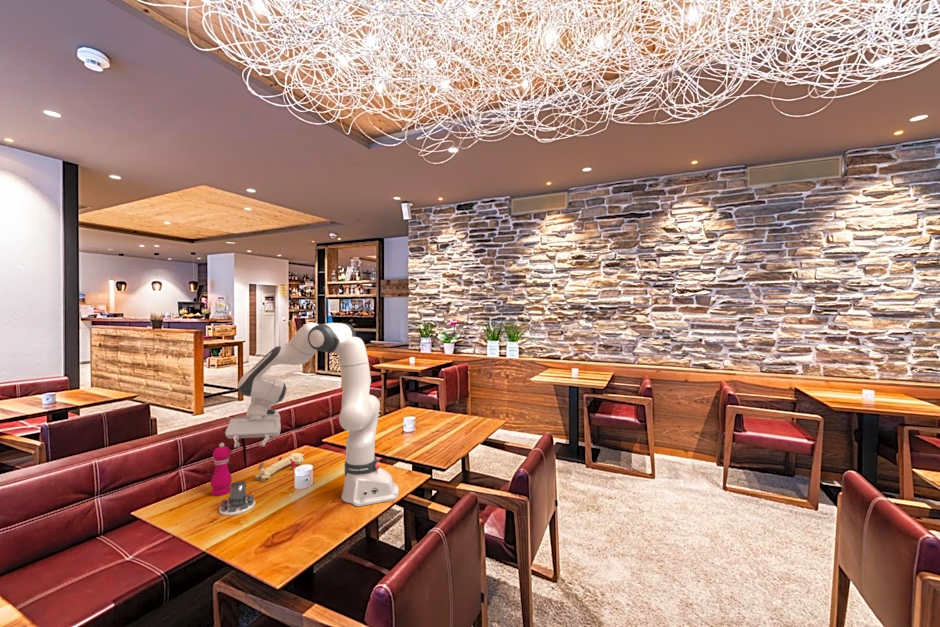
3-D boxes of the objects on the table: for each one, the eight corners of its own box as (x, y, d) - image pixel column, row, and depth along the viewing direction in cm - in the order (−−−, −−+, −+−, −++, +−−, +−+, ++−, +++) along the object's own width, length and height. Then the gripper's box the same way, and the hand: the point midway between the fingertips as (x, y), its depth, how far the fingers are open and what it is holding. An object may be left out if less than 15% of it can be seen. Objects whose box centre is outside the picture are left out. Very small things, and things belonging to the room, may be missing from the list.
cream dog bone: (267, 486, 164) (310, 460, 187) (266, 466, 163) (310, 443, 187) (250, 482, 167) (295, 457, 191) (249, 463, 167) (294, 440, 190)
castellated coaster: (259, 498, 150) (259, 491, 150) (248, 513, 139) (249, 506, 139) (226, 501, 148) (227, 494, 148) (213, 516, 137) (213, 509, 137)
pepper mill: (221, 497, 151) (221, 446, 151) (205, 495, 152) (206, 445, 152) (236, 489, 158) (236, 440, 158) (221, 487, 159) (221, 439, 159)
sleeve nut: (247, 501, 146) (247, 480, 146) (242, 507, 142) (242, 486, 142) (233, 502, 145) (233, 481, 145) (227, 509, 141) (227, 487, 141)
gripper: (228, 412, 160) (218, 444, 151) (281, 411, 164) (274, 441, 155) (233, 420, 164) (223, 451, 155) (284, 418, 169) (277, 448, 159)
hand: (249, 446), depth 155 cm, fingers open, 8 cm apart
